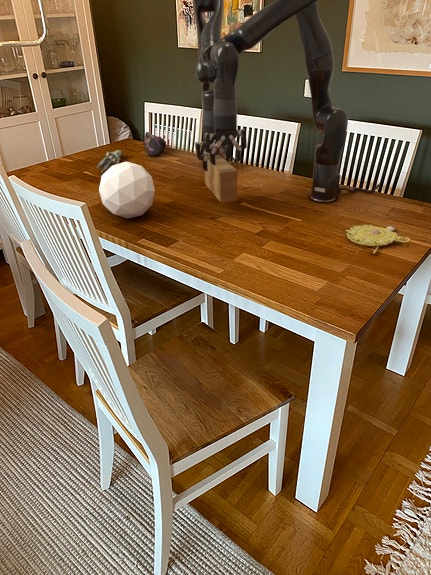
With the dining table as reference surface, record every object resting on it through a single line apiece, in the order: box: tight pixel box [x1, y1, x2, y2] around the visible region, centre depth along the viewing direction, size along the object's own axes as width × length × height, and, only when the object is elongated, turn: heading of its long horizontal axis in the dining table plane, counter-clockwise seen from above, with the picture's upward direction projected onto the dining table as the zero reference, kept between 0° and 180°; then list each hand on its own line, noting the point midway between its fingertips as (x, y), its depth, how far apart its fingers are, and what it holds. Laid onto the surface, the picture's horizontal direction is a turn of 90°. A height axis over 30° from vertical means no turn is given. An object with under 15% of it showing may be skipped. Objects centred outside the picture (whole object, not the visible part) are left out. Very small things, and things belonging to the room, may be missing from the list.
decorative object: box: [345, 223, 411, 255], centre depth 140 cm, size 21×2×20 cm
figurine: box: [96, 150, 123, 174], centre depth 213 cm, size 7×8×30 cm
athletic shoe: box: [143, 131, 170, 157], centre depth 230 cm, size 11×22×12 cm
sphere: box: [98, 160, 156, 220], centre depth 157 cm, size 19×20×20 cm
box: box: [204, 155, 238, 203], centre depth 160 cm, size 20×6×11 cm, turn 17°
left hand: (214, 169), depth 165 cm, fingers closed on box, 6 cm apart
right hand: (225, 162), depth 150 cm, fingers open, 8 cm apart
